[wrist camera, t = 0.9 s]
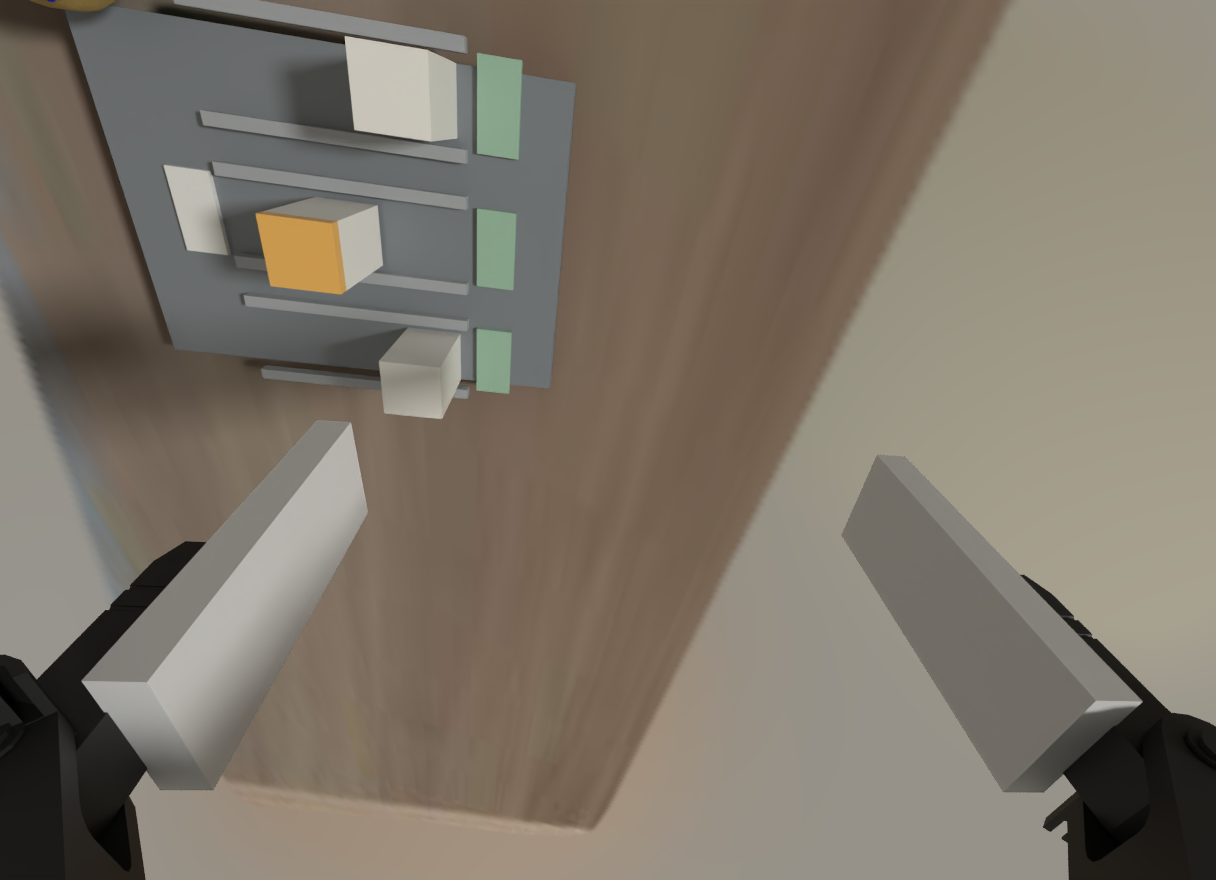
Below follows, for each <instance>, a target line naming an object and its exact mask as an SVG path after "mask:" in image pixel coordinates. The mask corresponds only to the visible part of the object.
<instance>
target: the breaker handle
mask: <svg viewBox="0 0 1216 880" xmlns="http://www.w3.org/2000/svg"><path fill="white" fill-rule="evenodd" d="M255 214H256V219H257V223H258V228H259V233H260V238H261V243H262V248H263V252H264V257H265V262H266V267H267V272H268V276H269V281H270V286H273V287H282V288H290V289H299V290H307V291H316V292H324V293H332V294H343V293H344V292H346V291H347V290H348V289H350V288H351V287H353V286H354V285H356V284H357V283H358V282H360V281H361V280H363V279H364V278H365V277H367V276H368V275H370V274H371V273H373V272H374V271H375V270H377V269H378V268H380V267H381V266H383V259H382V248H381V237H380V226H379V215H378V205H372V204H365V203H358V202H350V201H343V200H336V199H328V198H321V197H313V198H310V199H306V200H302V201H299V202H295V203H292V204H288V205H284V206H281V207H277V208H273V209H270V210H266V211H262V212H259V213H255Z"/></svg>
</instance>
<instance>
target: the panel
mask: <svg viewBox="0 0 1216 880" xmlns="http://www.w3.org/2000/svg"><path fill="white" fill-rule="evenodd" d="M174 4H177V5H181V6H184V7H190V8H196V9H202V10H208V11H214V12H220V13H226V14H231V15H237V16H243V17H249V18H255V19H261V20H267V21H273V22H279V23H285V24H290V25H296V26H302V27H308V28H314V29H320V30H326V31H332V32H338V33H344V34H349V35H355V36H361V37H367V38H373V39H379V40H385V41H391V42H397V43H403V44H408V45H414V46H420V47H426V48H432V49H438V50H444V51H450V52H456V53H462V54H467V38H466V37H465V36H461V35H456V34H450V33H444V32H438V31H432V30H427V29H421V28H415V27H409V26H404V25H398V24H392V23H386V22H380V21H375V20H369V19H363V18H357V17H352V16H346V15H340V14H334V13H328V12H323V11H317V10H311V9H305V8H300V7H294V6H288V5H282V4H276V3H271V2H265V1H259V0H174ZM64 10H65V9H64ZM65 13H66V16H67V20H68V23H69V26H70V29H71V32H72V35H73V38H74V41H75V44H76V47H77V50H78V53H79V56H80V60H81V63H82V66H83V69H84V72H85V75H86V78H87V81H88V84H89V87H90V90H91V93H92V97H93V100H94V103H95V106H96V109H97V112H98V115H99V118H100V121H101V124H102V127H103V130H104V133H105V137H106V140H107V143H108V146H109V149H110V152H111V155H112V158H113V161H114V164H115V167H116V170H117V173H118V177H119V180H120V183H121V186H122V189H123V192H124V195H125V198H126V201H127V204H128V207H129V210H130V213H131V217H132V220H133V223H134V226H135V229H136V232H137V235H138V238H139V241H140V244H141V247H142V250H143V254H144V257H145V260H146V263H147V266H148V269H149V272H150V275H151V278H152V281H153V284H154V287H155V290H156V294H157V297H158V300H159V303H160V306H161V309H162V312H163V315H164V318H165V321H166V324H167V327H168V330H169V334H170V337H171V340H172V343H173V346H174V349H175V350H185V351H195V352H204V353H214V354H223V355H233V356H242V357H252V358H262V359H271V360H281V361H290V362H300V363H309V364H319V365H329V366H338V367H348V368H357V369H367V370H376V371H380V377H377V376H368V375H358V374H348V373H339V372H329V371H319V370H310V369H300V368H290V367H281V366H271V365H266V366H264V367H263V368H262V369H261V372H262V376H263V378H265V379H275V380H285V381H295V382H305V383H315V384H325V385H335V386H345V387H355V388H365V389H374V390H382V396H383V406H384V413H386V414H396V415H407V416H417V417H427V418H438V419H442V418H443V416H444V414H445V412H446V410H447V408H448V406H449V403H450V401H451V399H452V397H454V398H464V399H468V397H469V386H465V385H459V383H460V381H461V379H463V380H472V381H477V390H478V391H488V392H497V393H507V394H509V392H510V385H520V386H530V387H539V388H549V389H550V384H551V376H552V365H553V353H554V341H555V329H556V318H557V306H558V294H559V282H560V271H561V259H562V247H563V236H564V224H565V212H566V200H567V189H568V177H569V165H570V153H571V142H572V130H573V118H574V106H575V95H576V83H571V82H565V81H559V80H553V79H547V78H541V77H535V76H529V75H523V74H522V64H523V61H522V60H516V59H510V58H504V57H499V56H493V55H487V54H481V53H477V67H475V66H469V65H463V64H457V63H454V62H452V61H450V60H448V59H446V58H444V57H442V56H439V55H437V54H435V53H433V52H431V51H429V50H425V49H419V48H413V47H407V46H401V45H395V44H389V43H383V42H377V41H371V40H365V39H359V38H354V37H348V36H345V45H344V44H338V43H332V42H326V41H320V40H314V39H308V38H302V37H296V36H290V35H284V34H278V33H272V32H266V31H260V30H254V29H248V28H242V27H236V26H230V25H224V24H218V23H212V22H206V21H200V20H194V19H188V18H182V17H176V16H170V15H164V14H158V13H152V12H146V11H140V10H134V9H128V8H122V7H117V6H111V5H109V6H108V7H106V8H104V9H102V10H99V11H90V12H83V11H72V10H65ZM313 197H321V198H328V199H336V200H343V201H350V202H358V203H365V204H372V205H378V215H379V226H380V237H381V248H382V259H383V266H381V267H380V268H378V269H377V270H375V271H374V272H373V273H371V274H370V275H368V276H367V277H365V278H364V279H363V280H361V281H360V282H358V283H357V284H356V285H354V286H353V287H351V288H350V289H348V290H347V291H346V292H344V293H343V294H332V293H324V292H316V291H307V290H299V289H290V288H282V287H273V286H270V281H269V276H268V272H267V267H266V262H265V257H264V252H263V248H262V243H261V238H260V233H259V228H258V223H257V219H256V214H255V213H259V212H262V211H266V210H270V209H273V208H277V207H281V206H284V205H288V204H292V203H295V202H299V201H302V200H306V199H310V198H313Z"/></svg>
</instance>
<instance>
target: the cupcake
mask: <svg viewBox="0 0 1216 880" xmlns="http://www.w3.org/2000/svg"><path fill="white" fill-rule="evenodd" d="M29 1H32V2H35V3H37V4H40V5H43V6H46V7H51V8H56V9H65V10H72V11H83V12H90V11H99V10H102V9H104V8H106V7H108V6H109V5H111V4H112V3H114V2H115V1H116V0H29Z"/></svg>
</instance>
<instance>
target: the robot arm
mask: <svg viewBox="0 0 1216 880" xmlns="http://www.w3.org/2000/svg"><path fill="white" fill-rule="evenodd" d="M367 513H368V511H367V505H366V500H365V495H364V489H363V484H362V479H361V474H360V468H359V463H358V458H357V452H356V447H355V442H354V437H353V431H352V426H351V422H338V421H322V420H317V421H316V422H315V423H314V424H313V425H312V426H311V427H310V429H309V430H308V431H307V432H306V433H305V434H304V435H303V436H302V437H301V439H300V440H299V441H298V442H297V443H296V444H295V445H294V446H293V447H292V448H291V450H290V451H289V452H288V453H287V454H286V455H285V456H284V457H283V458H282V460H281V461H280V462H279V463H278V464H277V465H276V466H275V467H274V468H273V469H272V471H271V472H270V473H269V474H268V475H267V476H266V477H265V478H264V479H263V481H262V482H261V483H260V484H259V485H258V486H257V487H256V488H255V489H254V491H253V492H252V493H251V494H250V495H249V496H248V497H247V498H246V499H245V500H244V502H243V503H242V504H241V505H240V506H239V507H238V508H237V509H236V510H235V512H234V513H233V514H232V515H231V516H230V517H229V518H228V519H227V520H226V521H225V523H224V524H223V525H222V526H221V527H220V528H219V529H218V530H217V531H216V533H215V534H214V535H213V536H212V537H211V538H210V539H209V540H208V541H207V542H188V541H185V542H184V543H182V544H181V545H179V546H177V547H176V548H174V549H172V550H171V551H169V552H168V553H166V554H164V555H163V556H161V557H160V558H158V559H156V560H155V561H153V562H152V563H151V564H150V565H149V566H148V567H147V568H146V569H145V570H144V571H143V572H142V573H141V575H140V576H139V577H138V578H137V579H136V580H135V581H134V582H133V583H132V584H131V585H130V589H129V590H125V591H124V592H123V593H122V594H121V595H120V596H119V597H118V598H117V599H116V600H115V601H114V602H113V603H112V604H111V607H110V609H109V610H105V611H104V612H103V613H102V614H101V615H100V616H99V617H98V618H97V619H96V620H95V621H94V622H93V623H92V624H91V625H90V626H89V627H88V628H87V629H86V630H85V631H84V632H83V633H82V634H81V636H79V637H78V638H77V639H76V640H75V641H74V642H73V643H72V644H71V645H70V646H69V648H67V650H66V651H65V652H64V653H63V654H62V655H61V656H60V657H59V658H58V659H57V660H56V661H55V662H54V663H53V664H52V665H51V666H50V667H49V668H48V669H47V670H46V671H45V672H44V673H43V674H42V675H41V676H40V677H39V678H38V679H37V680H36V678H35V677H34V676H33V675H32V673H31V672H30V671H29V670H28V668H27V667H26V666H25V665H24V663H23V662H22V661H21V660H19V659H16V658H13V657H10V656H7V655H0V880H145V873H144V866H143V859H142V852H141V845H140V838H139V832H138V824H137V817H136V810H135V806H134V804H133V802H132V801H131V799H130V797H129V795H130V794H131V792H132V791H133V789H134V788H135V786H136V785H137V783H138V782H139V780H140V779H141V777H142V776H143V774H144V773H145V771H147V772H148V774H149V775H150V777H151V778H152V779H153V781H154V782H155V783H156V785H157V786H158V787H159V789H160V790H214V788H215V786H216V784H217V783H218V781H219V779H220V777H221V775H222V774H223V772H224V770H225V768H226V766H227V765H228V763H229V761H230V759H231V757H232V756H233V754H234V752H235V750H236V748H237V747H238V745H239V743H240V741H241V740H242V738H243V736H244V734H245V732H246V731H247V729H248V727H249V725H250V723H251V722H252V720H253V718H254V716H255V714H256V713H257V711H258V709H259V707H260V705H261V704H262V702H263V700H264V698H265V696H266V695H267V693H268V691H269V689H270V687H271V686H272V684H273V682H274V680H275V678H276V677H277V675H278V673H279V671H280V670H281V668H282V666H283V664H284V662H285V661H286V659H287V657H288V655H289V653H290V652H291V650H292V648H293V646H294V644H295V643H296V641H297V639H298V637H299V635H300V634H301V632H302V630H303V628H304V626H305V625H306V623H307V621H308V619H309V617H310V616H311V614H312V612H313V610H314V608H315V607H316V605H317V603H318V601H319V600H320V598H321V596H322V594H323V592H324V591H325V589H326V587H327V585H328V583H329V582H330V580H331V578H332V576H333V574H334V573H335V571H336V569H337V567H338V565H339V564H340V562H341V560H342V558H343V556H344V555H345V553H346V551H347V549H348V547H349V546H350V544H351V542H352V540H353V538H354V537H355V535H356V533H357V531H358V530H359V528H360V526H361V524H362V522H363V521H364V519H365V517H366V515H367ZM842 537H843V538H844V540H845V541H846V543H847V545H848V546H849V548H850V549H851V551H852V552H853V554H854V556H855V557H856V559H857V561H858V562H859V564H860V565H861V567H862V568H863V570H864V572H865V573H866V575H867V576H868V578H869V580H870V581H871V583H872V584H873V586H874V588H875V589H876V591H877V592H878V594H879V595H880V597H881V598H882V600H883V602H884V603H885V605H886V607H887V608H888V610H889V611H890V613H891V614H892V616H893V618H894V619H895V621H896V622H897V624H898V626H899V627H900V629H901V630H902V632H903V634H904V635H905V637H906V638H907V640H908V642H909V643H910V645H911V646H912V648H913V649H914V651H915V652H916V654H917V656H918V657H919V659H920V661H921V662H922V664H923V665H924V667H925V669H926V670H927V672H928V673H929V675H930V676H931V678H932V680H933V681H934V683H935V684H936V686H937V688H938V689H939V691H940V692H941V694H942V696H943V697H944V699H945V700H946V702H947V703H948V705H949V707H950V708H951V710H952V711H953V713H954V715H955V716H956V718H957V719H958V721H959V723H960V724H961V726H962V727H963V729H964V730H965V732H966V734H967V735H968V737H969V738H970V740H971V741H972V743H973V745H974V746H975V748H976V750H977V751H978V753H979V754H980V756H981V757H982V759H983V761H984V762H985V764H986V765H987V767H988V769H989V770H990V772H991V773H992V775H993V777H994V778H995V780H996V781H997V783H998V784H999V786H1000V788H1001V789H1002V791H1003V792H1044V791H1046V790H1047V789H1048V788H1049V787H1050V786H1051V785H1052V784H1053V783H1054V782H1055V781H1056V780H1058V779H1059V778H1060V777H1061V776H1062V775H1063V774H1064V775H1065V776H1066V778H1067V779H1068V780H1069V782H1070V783H1071V784H1072V786H1073V787H1074V788H1075V790H1076V792H1075V793H1074V794H1073V795H1072V796H1071V797H1070V798H1068V799H1067V800H1066V801H1065V802H1064V803H1063V804H1062V805H1060V806H1059V807H1058V808H1057V809H1056V810H1054V811H1053V812H1052V813H1051V814H1050V815H1049V816H1048V817H1046V820H1045V823H1044V826H1043V828H1045V829H1047V830H1048V831H1050V832H1051V831H1052V830H1053V829H1054V828H1056V827H1057V826H1058V825H1060V824H1061V823H1062V822H1063V821H1067V827H1068V833H1066V834H1065V835H1064V836H1063V837H1062V839H1063V840H1064V841H1066V842H1067V843H1068V866H1069V880H1216V727H1215V726H1214V725H1212V724H1210V723H1208V722H1206V721H1203V720H1201V719H1198V718H1195V717H1193V716H1190V715H1185V714H1177V713H1171V712H1170V711H1168V709H1166V708H1165V707H1164V706H1163V705H1162V704H1161V703H1160V702H1159V701H1158V700H1157V699H1156V698H1155V697H1154V696H1153V695H1152V694H1151V693H1150V692H1149V691H1148V690H1147V689H1146V688H1145V687H1144V686H1143V685H1142V684H1141V683H1140V682H1139V681H1138V680H1137V679H1136V678H1135V677H1134V676H1133V675H1132V674H1131V673H1130V672H1129V671H1128V670H1127V669H1126V668H1125V667H1124V666H1123V665H1122V664H1121V663H1120V662H1119V661H1118V660H1117V659H1116V658H1115V657H1114V656H1113V655H1112V654H1111V653H1110V652H1109V651H1108V650H1107V649H1106V648H1105V647H1104V646H1103V645H1102V644H1101V643H1100V642H1099V641H1098V640H1097V639H1093V638H1092V634H1091V633H1090V632H1089V631H1088V630H1087V629H1086V628H1085V627H1084V626H1083V625H1082V624H1081V623H1080V622H1079V621H1078V620H1074V616H1073V615H1072V614H1071V613H1070V612H1069V611H1068V610H1067V609H1066V608H1065V607H1064V606H1063V605H1062V604H1061V603H1060V602H1059V601H1058V600H1057V599H1056V598H1055V597H1054V596H1053V595H1052V594H1051V593H1050V592H1048V591H1046V590H1045V589H1044V588H1042V587H1041V586H1040V585H1038V584H1037V583H1035V582H1034V581H1032V580H1031V579H1029V578H1028V577H1027V576H1025V575H1020V574H1019V573H1018V572H1017V571H1016V570H1015V569H1014V568H1013V567H1012V566H1011V565H1010V564H1009V563H1008V562H1007V561H1006V560H1005V559H1004V558H1003V557H1002V556H1001V555H1000V554H999V553H998V552H997V551H996V550H995V549H994V548H993V547H992V546H991V545H990V544H989V543H988V542H987V541H986V539H985V538H984V537H983V536H982V535H981V534H979V532H978V531H977V530H976V529H975V528H974V527H973V526H972V525H971V524H970V523H969V522H968V521H967V520H966V519H965V518H964V517H963V516H962V515H961V514H960V513H959V512H958V511H957V510H956V509H955V508H954V507H953V506H952V504H951V503H950V502H949V501H948V500H947V499H946V498H945V497H944V496H943V495H942V494H941V493H940V492H939V491H938V490H937V489H936V488H935V487H934V486H933V485H932V484H931V483H930V482H929V481H928V480H927V479H926V478H925V477H924V476H923V475H922V474H921V473H920V472H919V471H918V469H917V468H915V466H914V465H913V464H912V463H911V462H910V461H909V460H908V459H907V458H906V457H903V456H885V455H877V456H876V459H875V461H874V463H873V465H872V468H871V470H870V472H869V474H868V476H867V479H866V481H865V483H864V486H863V488H862V490H861V492H860V495H859V497H858V499H857V502H856V504H855V506H854V508H853V510H852V513H851V515H850V517H849V519H848V522H847V524H846V526H845V528H844V531H843V533H842Z"/></svg>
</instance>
